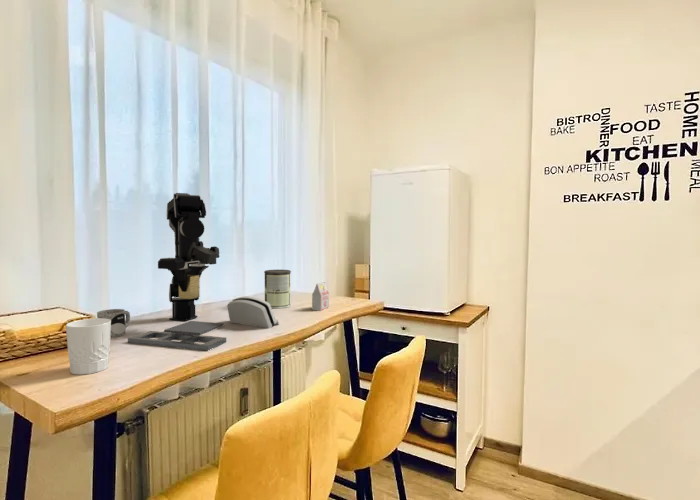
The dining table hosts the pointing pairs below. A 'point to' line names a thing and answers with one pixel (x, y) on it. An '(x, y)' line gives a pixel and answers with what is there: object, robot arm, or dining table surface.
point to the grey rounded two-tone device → (251, 312)
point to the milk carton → (320, 297)
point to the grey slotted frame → (185, 343)
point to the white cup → (88, 345)
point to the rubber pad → (194, 327)
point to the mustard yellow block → (190, 288)
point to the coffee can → (277, 288)
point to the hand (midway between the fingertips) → (189, 290)
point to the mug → (116, 320)
